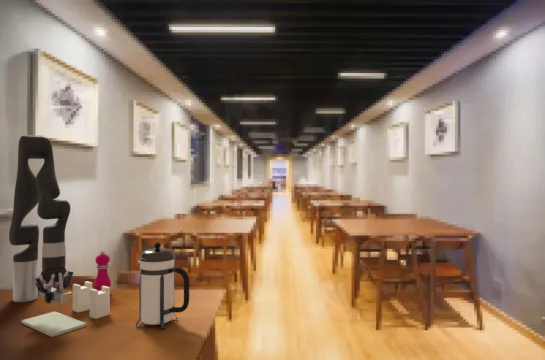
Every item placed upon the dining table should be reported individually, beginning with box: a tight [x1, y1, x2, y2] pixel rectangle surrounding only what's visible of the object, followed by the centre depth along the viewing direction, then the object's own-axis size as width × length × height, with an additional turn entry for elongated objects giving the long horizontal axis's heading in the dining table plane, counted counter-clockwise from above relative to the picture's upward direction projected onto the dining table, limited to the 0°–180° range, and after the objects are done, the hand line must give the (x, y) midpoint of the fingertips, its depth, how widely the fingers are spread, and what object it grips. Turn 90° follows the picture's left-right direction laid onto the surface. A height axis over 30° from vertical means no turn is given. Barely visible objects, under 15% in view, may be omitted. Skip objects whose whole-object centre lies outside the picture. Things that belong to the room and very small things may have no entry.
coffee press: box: [135, 241, 190, 331], centre depth 144 cm, size 17×16×30 cm
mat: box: [21, 310, 87, 338], centre depth 142 cm, size 22×12×1 cm, turn 56°
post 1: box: [72, 280, 93, 313], centre depth 158 cm, size 4×6×11 cm, turn 146°
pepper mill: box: [93, 250, 112, 291], centre depth 180 cm, size 7×7×20 cm
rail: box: [37, 284, 73, 305], centre depth 142 cm, size 18×3×3 cm, turn 56°
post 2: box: [89, 286, 111, 320], centre depth 152 cm, size 4×6×11 cm, turn 146°
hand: (53, 301), depth 142 cm, fingers closed on rail, 3 cm apart
